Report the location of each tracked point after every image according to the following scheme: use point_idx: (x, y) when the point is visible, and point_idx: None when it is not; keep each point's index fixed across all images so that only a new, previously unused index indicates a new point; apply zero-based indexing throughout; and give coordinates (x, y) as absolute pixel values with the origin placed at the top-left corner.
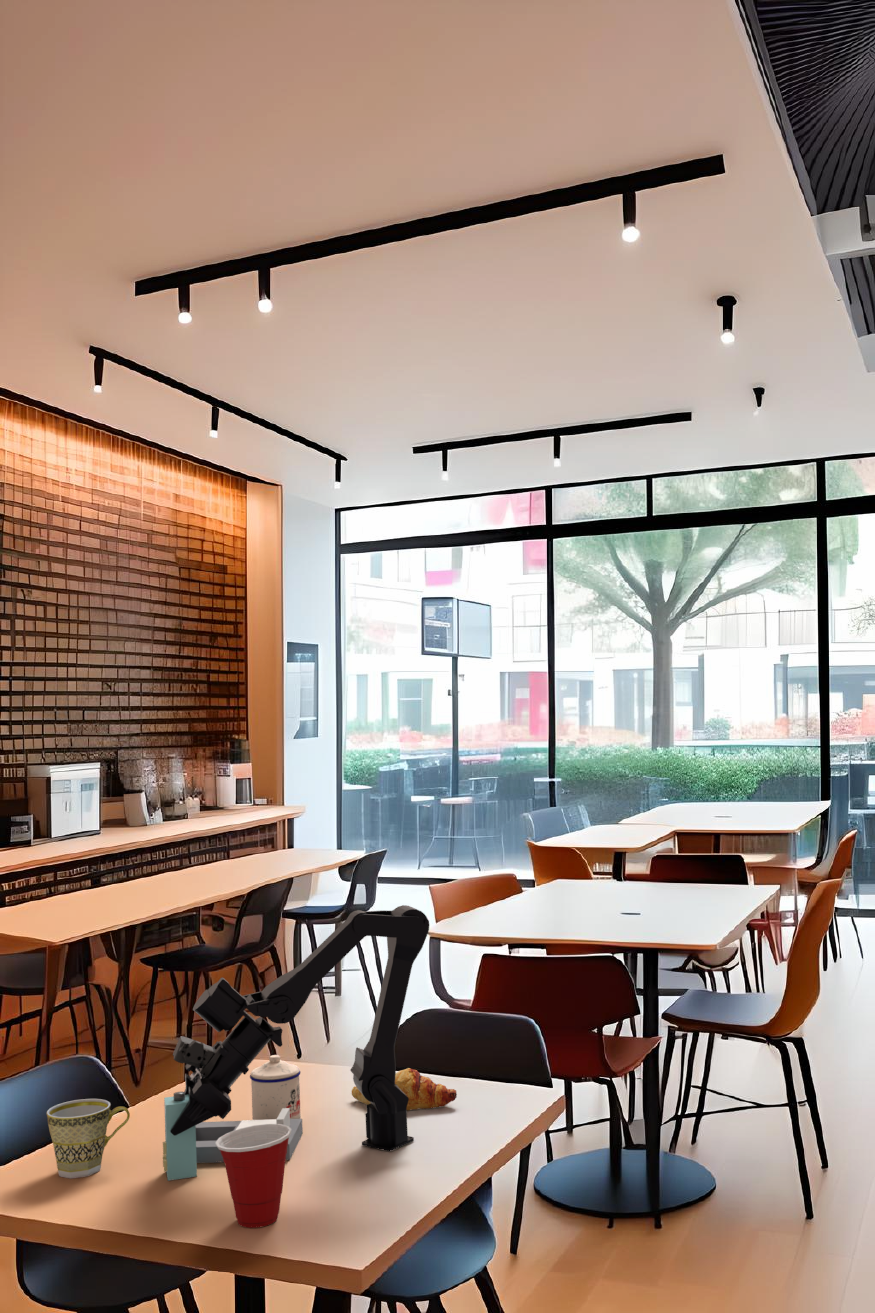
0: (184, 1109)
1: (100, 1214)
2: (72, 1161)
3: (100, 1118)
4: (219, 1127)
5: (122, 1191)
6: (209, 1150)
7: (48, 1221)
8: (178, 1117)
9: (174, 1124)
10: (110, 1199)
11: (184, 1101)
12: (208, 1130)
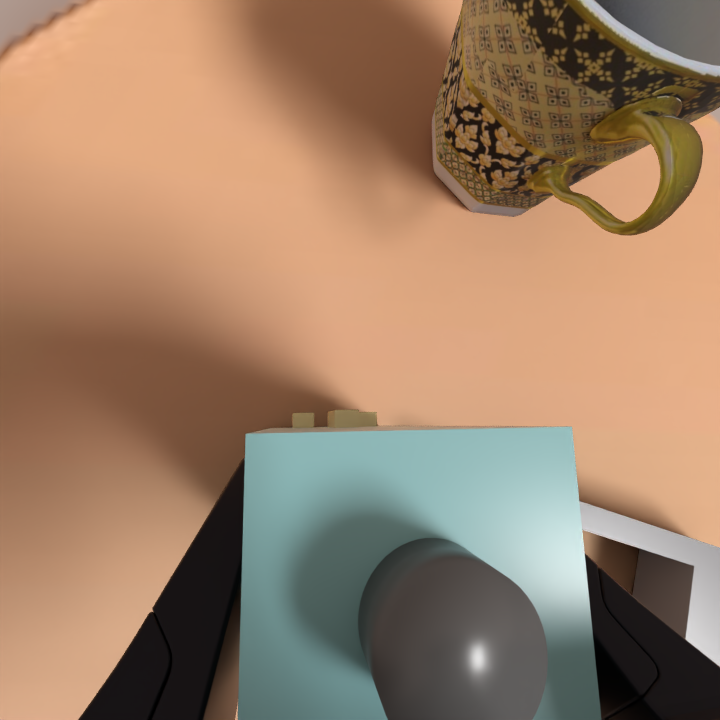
0: (147, 669)
1: (28, 173)
2: (443, 81)
3: (548, 35)
4: None
5: (238, 263)
6: None
7: (58, 20)
8: (233, 550)
9: (232, 498)
10: (173, 218)
11: (316, 696)
12: (674, 618)
